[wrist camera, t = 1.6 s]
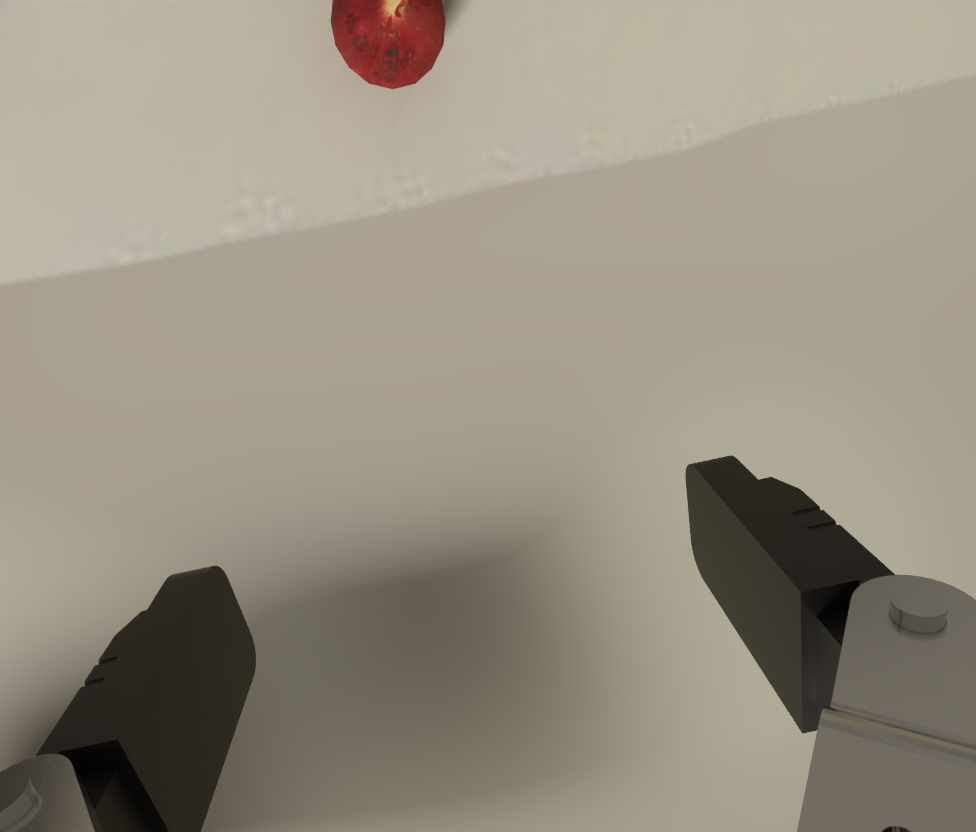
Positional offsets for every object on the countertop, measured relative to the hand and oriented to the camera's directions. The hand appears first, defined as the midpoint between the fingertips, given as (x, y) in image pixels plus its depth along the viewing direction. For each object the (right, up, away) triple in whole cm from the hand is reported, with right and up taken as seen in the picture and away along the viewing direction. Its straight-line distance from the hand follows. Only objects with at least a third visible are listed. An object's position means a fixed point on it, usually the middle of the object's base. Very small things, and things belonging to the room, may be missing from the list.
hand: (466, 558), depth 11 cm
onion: (-6, +24, +26) cm, 36 cm away
